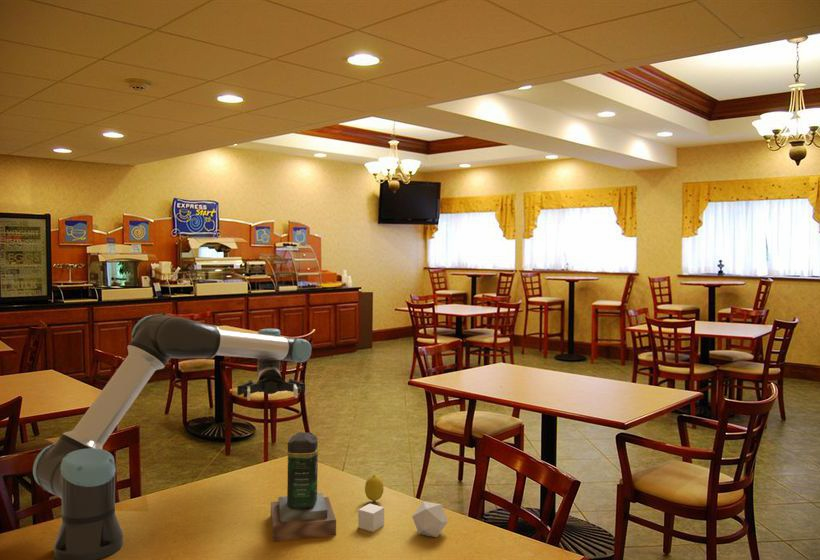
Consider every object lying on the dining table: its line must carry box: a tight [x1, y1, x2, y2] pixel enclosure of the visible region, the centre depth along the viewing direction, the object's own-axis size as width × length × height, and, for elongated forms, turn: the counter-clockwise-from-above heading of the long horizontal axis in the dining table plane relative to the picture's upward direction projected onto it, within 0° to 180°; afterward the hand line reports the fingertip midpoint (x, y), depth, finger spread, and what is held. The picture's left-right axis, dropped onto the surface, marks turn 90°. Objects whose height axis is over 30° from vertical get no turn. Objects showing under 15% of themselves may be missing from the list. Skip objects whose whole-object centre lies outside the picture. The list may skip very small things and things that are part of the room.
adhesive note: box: [357, 503, 385, 533], centre depth 167 cm, size 5×5×5 cm
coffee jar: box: [286, 431, 319, 509], centre depth 167 cm, size 10×8×19 cm
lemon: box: [364, 474, 385, 503], centre depth 183 cm, size 6×6×8 cm
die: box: [411, 500, 449, 538], centre depth 163 cm, size 8×9×10 cm
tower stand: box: [270, 492, 337, 543], centre depth 167 cm, size 16×16×6 cm
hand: (272, 394), depth 181 cm, fingers open, 13 cm apart
